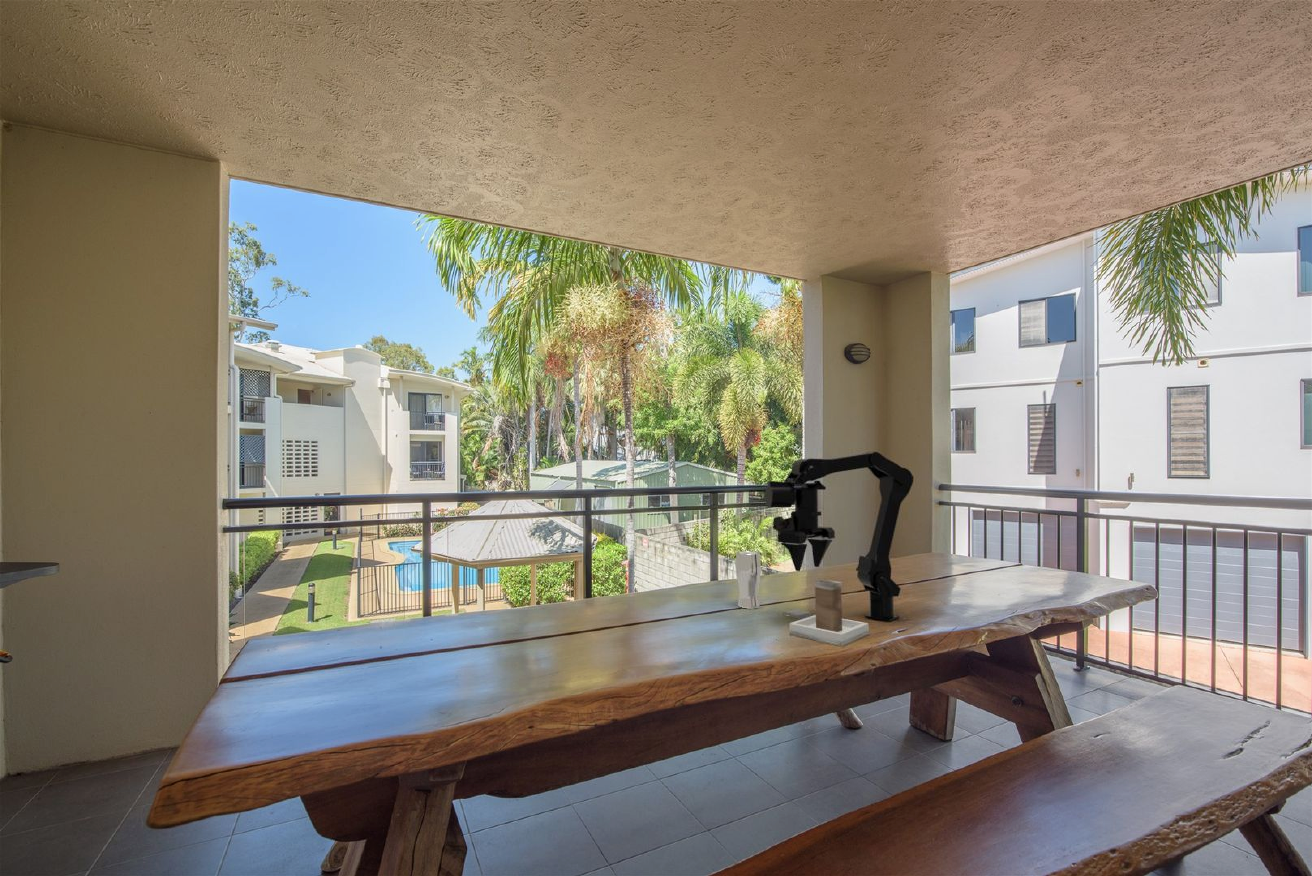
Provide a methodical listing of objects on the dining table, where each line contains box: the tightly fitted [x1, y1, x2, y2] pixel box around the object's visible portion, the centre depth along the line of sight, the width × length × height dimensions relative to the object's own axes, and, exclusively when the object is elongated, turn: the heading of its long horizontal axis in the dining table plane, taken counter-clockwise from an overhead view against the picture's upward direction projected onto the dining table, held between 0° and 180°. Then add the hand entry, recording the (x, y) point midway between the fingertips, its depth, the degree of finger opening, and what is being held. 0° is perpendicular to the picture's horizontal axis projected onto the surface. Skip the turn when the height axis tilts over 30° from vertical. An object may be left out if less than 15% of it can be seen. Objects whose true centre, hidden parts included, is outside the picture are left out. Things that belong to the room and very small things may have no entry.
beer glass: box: [735, 550, 762, 610], centre depth 161 cm, size 7×7×15 cm
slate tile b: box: [782, 608, 812, 619], centre depth 151 cm, size 5×5×1 cm
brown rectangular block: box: [814, 579, 843, 632], centre depth 133 cm, size 4×4×11 cm
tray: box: [788, 614, 870, 647], centre depth 133 cm, size 13×13×2 cm
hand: (807, 568), depth 146 cm, fingers open, 9 cm apart
